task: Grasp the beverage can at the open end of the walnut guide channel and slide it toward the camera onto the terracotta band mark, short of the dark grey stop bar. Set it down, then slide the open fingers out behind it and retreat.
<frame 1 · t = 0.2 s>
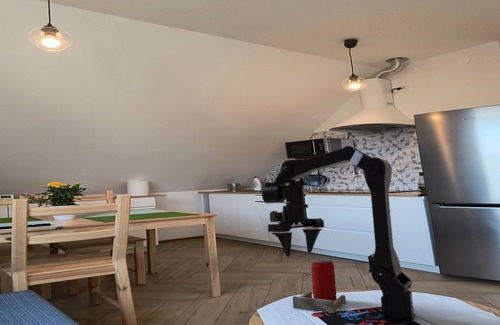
hand: (299, 254, 98), 14 cm above the table, fingers open, 9 cm apart
guide channel: (320, 305, 93), on the table
beverage can: (325, 302, 97), on the table
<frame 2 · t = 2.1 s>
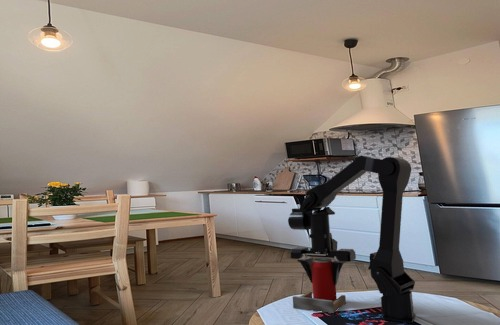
hand: (323, 283, 97), 5 cm above the table, fingers closed on beverage can, 7 cm apart
beverage can: (325, 302, 97), on the table, touching gripper
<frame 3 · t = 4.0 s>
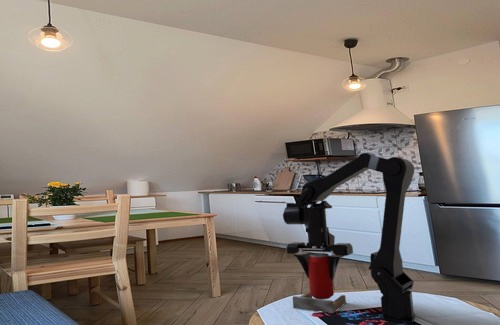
hand: (320, 278, 96), 7 cm above the table, fingers closed on beverage can, 7 cm apart
beverage can: (322, 297, 95), point 2 cm above the table, touching gripper
when the fingers open (5 cm above the table, at t = 6.0 s): beverage can stays where it is, resting on guide channel.
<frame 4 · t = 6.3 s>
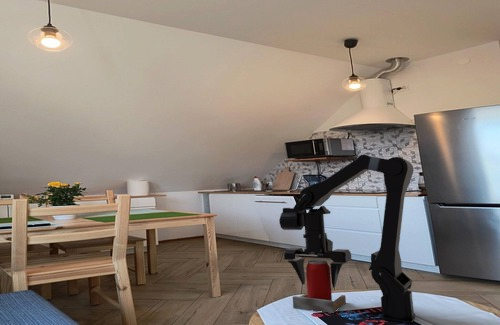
hand: (318, 285, 94), 5 cm above the table, fingers open, 9 cm apart
beverage can: (320, 305, 93), resting on guide channel
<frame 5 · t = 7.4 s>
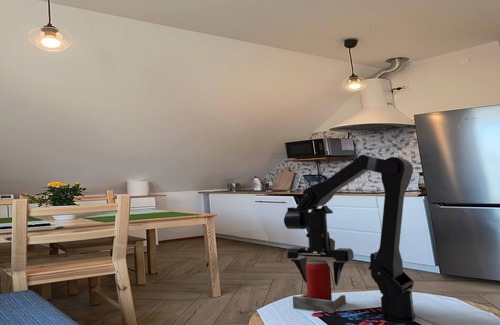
hand: (321, 283, 96), 5 cm above the table, fingers open, 9 cm apart
nothing on the table moved.
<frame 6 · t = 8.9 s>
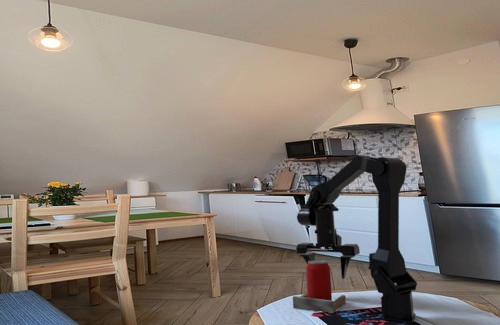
hand: (328, 277, 101), 6 cm above the table, fingers open, 9 cm apart
nothing on the table moved.
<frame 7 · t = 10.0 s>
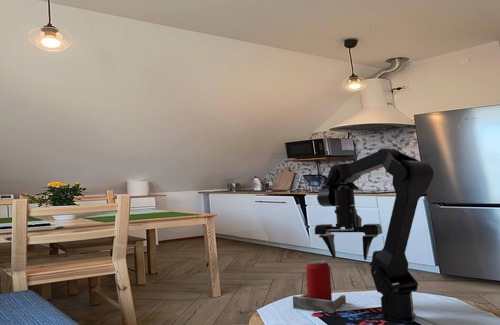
hand: (349, 259, 97), 12 cm above the table, fingers open, 9 cm apart
nothing on the table moved.
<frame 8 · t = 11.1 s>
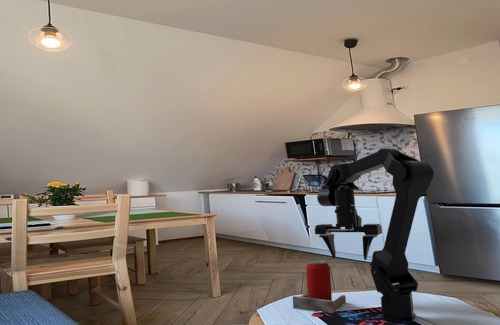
hand: (349, 259, 97), 12 cm above the table, fingers open, 9 cm apart
nothing on the table moved.
at the end: beverage can 0.3 cm from the target spot, on the table; beverage can tilted 2°; the gripper is holding nothing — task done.
